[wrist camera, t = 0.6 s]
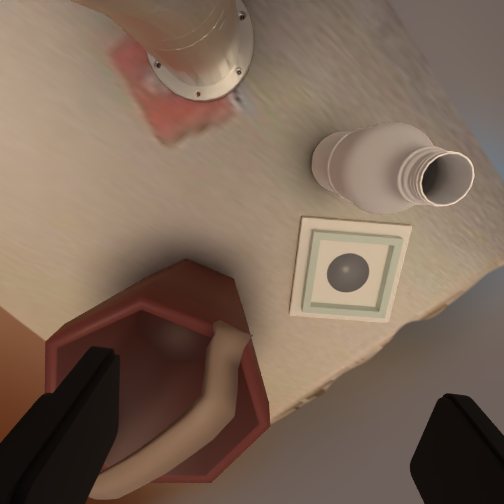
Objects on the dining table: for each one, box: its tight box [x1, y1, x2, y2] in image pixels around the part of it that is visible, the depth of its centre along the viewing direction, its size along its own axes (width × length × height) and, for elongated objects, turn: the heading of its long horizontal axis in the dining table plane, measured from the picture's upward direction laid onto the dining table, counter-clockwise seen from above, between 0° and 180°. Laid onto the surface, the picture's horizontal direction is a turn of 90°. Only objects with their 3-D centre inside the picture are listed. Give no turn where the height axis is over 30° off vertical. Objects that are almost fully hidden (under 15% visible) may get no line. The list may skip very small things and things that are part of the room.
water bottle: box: [312, 122, 474, 214], centre depth 29 cm, size 7×7×25 cm
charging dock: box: [289, 216, 412, 323], centre depth 44 cm, size 15×15×2 cm
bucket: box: [45, 259, 270, 499], centre depth 36 cm, size 24×22×25 cm
